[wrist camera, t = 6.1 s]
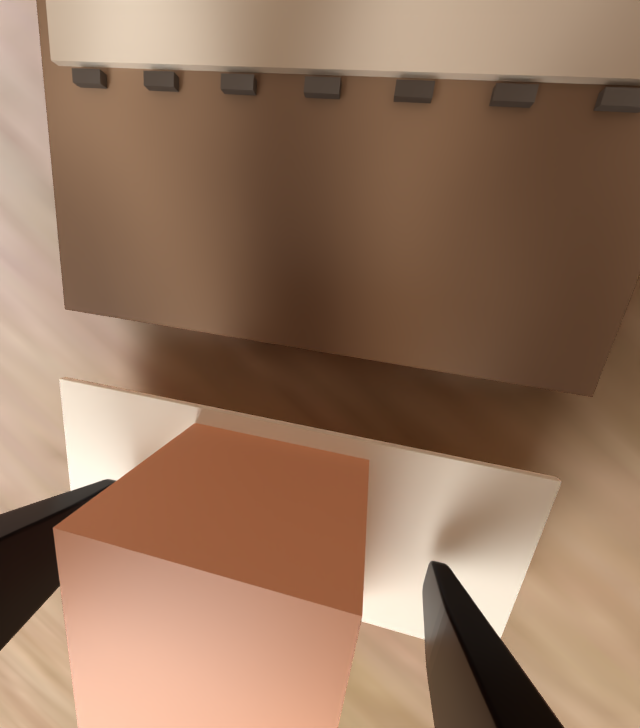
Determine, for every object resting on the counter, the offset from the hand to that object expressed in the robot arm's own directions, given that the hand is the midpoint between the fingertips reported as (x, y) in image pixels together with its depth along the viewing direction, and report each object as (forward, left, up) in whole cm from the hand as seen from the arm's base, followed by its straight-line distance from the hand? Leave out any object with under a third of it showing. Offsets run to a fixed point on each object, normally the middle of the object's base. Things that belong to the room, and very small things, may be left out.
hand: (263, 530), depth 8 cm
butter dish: (0, 0, -1) cm, 1 cm away
